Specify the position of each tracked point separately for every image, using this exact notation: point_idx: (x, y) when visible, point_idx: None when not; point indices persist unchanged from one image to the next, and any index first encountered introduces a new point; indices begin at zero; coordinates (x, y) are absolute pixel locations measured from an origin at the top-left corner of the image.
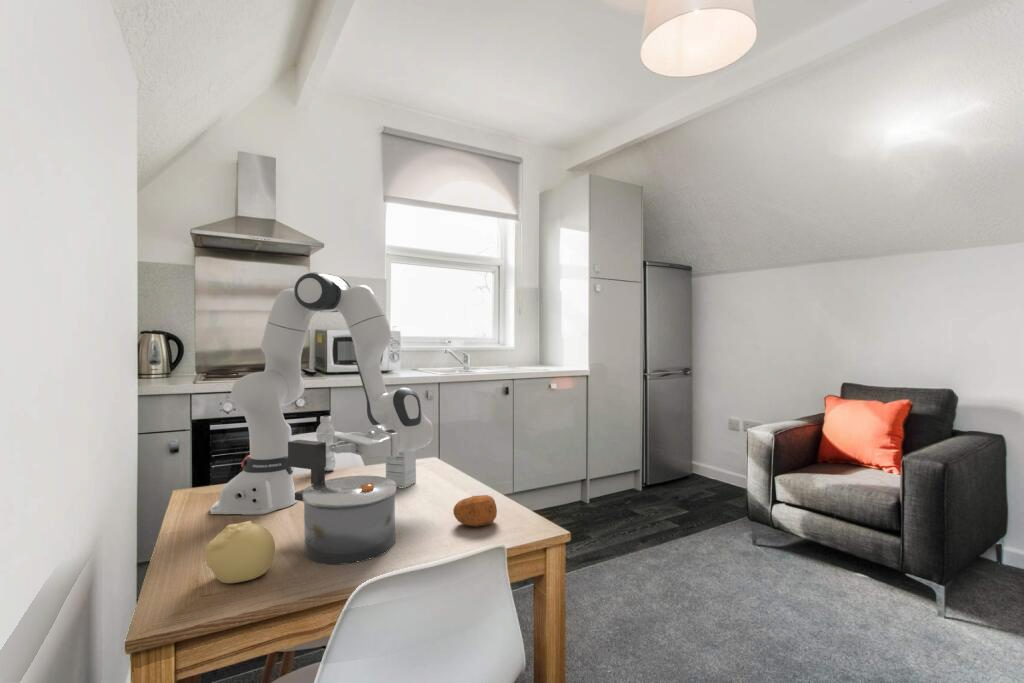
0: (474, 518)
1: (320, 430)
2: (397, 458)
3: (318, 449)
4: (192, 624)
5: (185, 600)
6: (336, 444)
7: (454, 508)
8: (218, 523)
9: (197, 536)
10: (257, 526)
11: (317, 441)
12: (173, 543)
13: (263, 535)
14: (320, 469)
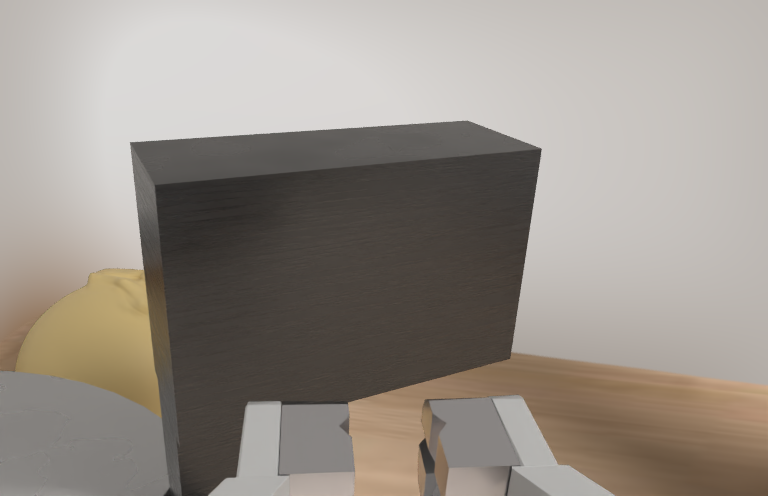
0: None
1: None
2: None
3: (143, 209)
4: (3, 340)
5: None
6: (442, 446)
7: None
8: (751, 478)
9: (611, 415)
10: (86, 319)
11: (290, 171)
12: (573, 372)
13: (36, 345)
14: (165, 408)
